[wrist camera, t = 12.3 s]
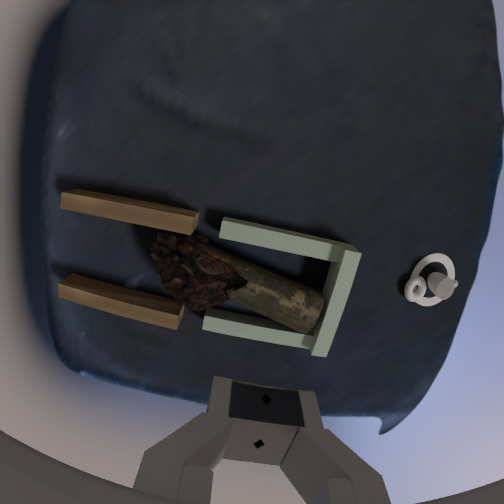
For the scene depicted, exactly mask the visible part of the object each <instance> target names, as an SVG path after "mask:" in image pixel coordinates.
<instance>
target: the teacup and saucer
mask: <svg viewBox="0 0 504 504" xmlns="http://www.w3.org/2000/svg"><path fill="white" fill-rule="evenodd" d="M431 262H440V263H442V264H444V266H445V267H446V269H447V272H448V276H446V275H444V274H442V273H439V272H433V273H431V274H430V275H429V276H428V278H427V284H428V287H429V288H430V290H431V291H432V292H433V293H434V294H435V295H436V296H435V297H432V298H425V297H423V295H424V294H425V291H426V281H425V280H424V278H422V277H421V276H418V275H419V273H420V272H421V270H422V269H423V268H424V267H425V266H426V265H427V264H429V263H431ZM454 278H455V269H454V265H453V263H452V261H451V260H450V258H449V257H447V256H446V255H444V254H441V253H434V254H430V255H428V256H426V257H424V258H423V259H422V260H421V261H420V262H419V263H418V264H417V265H416V267H415V268H414V270H413V272H412V275H411V278H410V279H409V280H408V282H407V283H406V285H405V289H404V294H405V297H406V298H407V300H409V301H411V302H416V303H418V304H420V305H422V306H431V305H435V304H437V303H439V302H440V301H441V300H444V299H447V298H449V297H450V296H451V295H452V293H453V291H454V287H457V285H458V281H456V280H454ZM417 285H418V290H417Z"/></svg>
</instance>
